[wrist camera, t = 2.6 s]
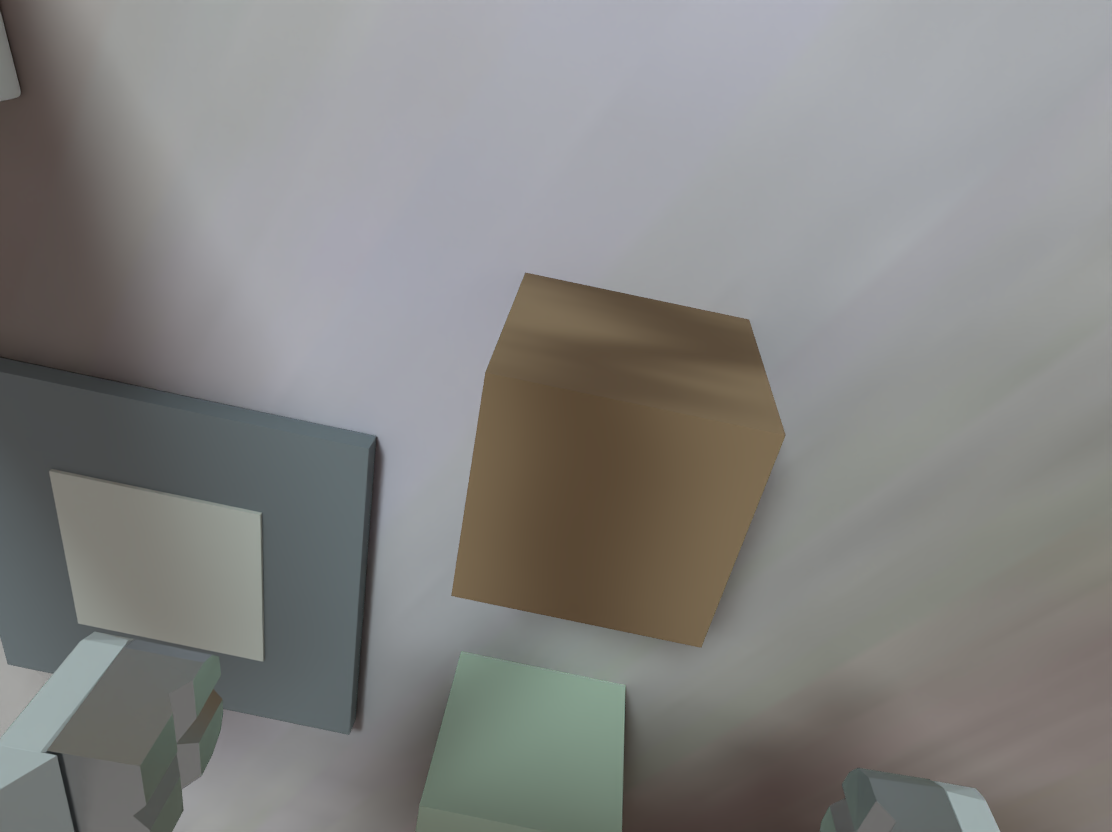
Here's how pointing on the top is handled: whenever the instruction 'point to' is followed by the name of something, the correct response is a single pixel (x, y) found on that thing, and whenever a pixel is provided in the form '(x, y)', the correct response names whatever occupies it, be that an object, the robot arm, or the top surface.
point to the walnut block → (615, 460)
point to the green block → (526, 752)
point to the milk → (7, 68)
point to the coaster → (185, 537)
